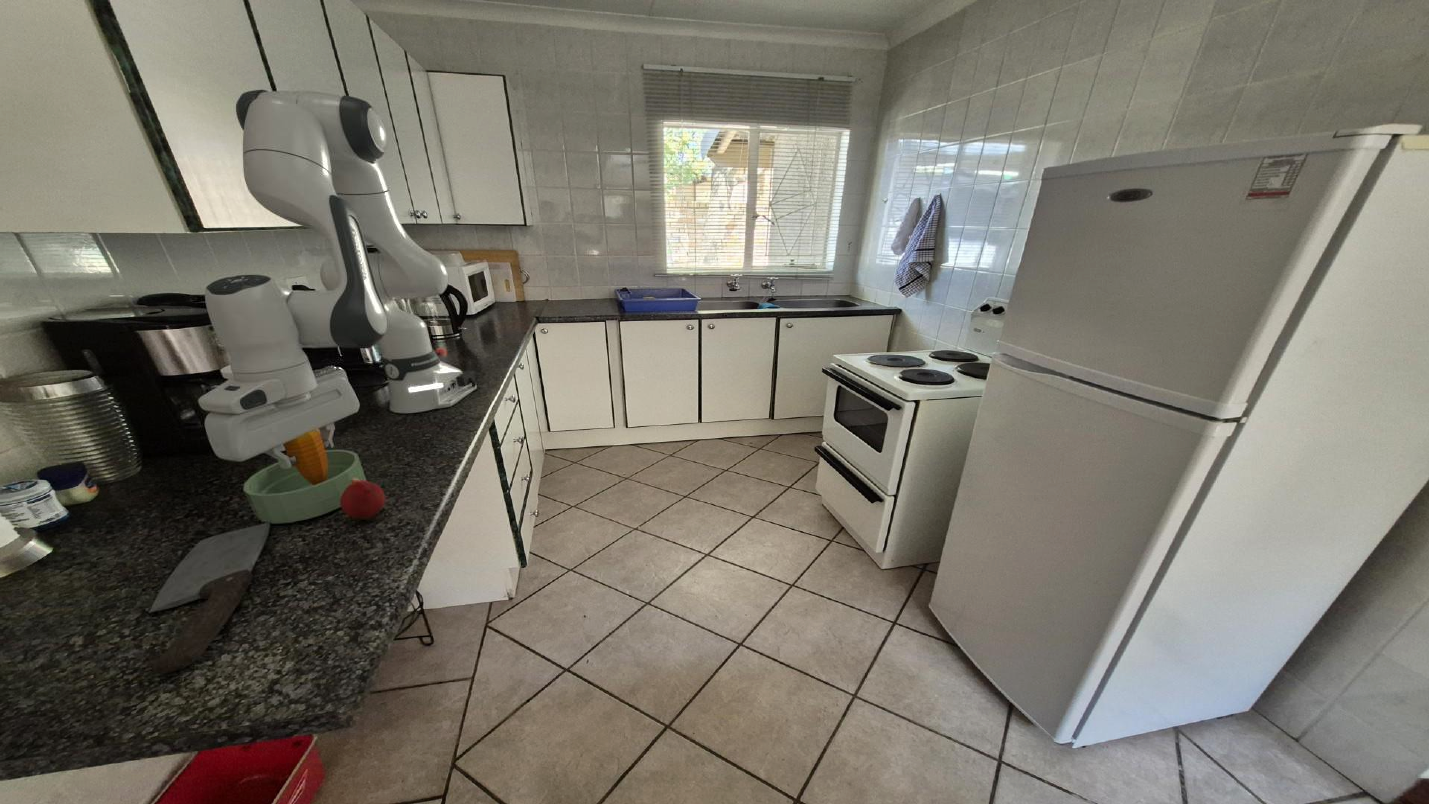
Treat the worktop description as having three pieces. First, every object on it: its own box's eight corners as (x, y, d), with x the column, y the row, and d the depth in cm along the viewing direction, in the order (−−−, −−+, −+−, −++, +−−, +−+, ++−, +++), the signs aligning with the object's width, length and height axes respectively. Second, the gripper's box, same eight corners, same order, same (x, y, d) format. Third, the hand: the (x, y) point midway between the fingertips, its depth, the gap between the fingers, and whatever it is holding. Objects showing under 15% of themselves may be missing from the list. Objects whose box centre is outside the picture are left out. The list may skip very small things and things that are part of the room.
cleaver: (224, 657, 51) (217, 644, 50) (93, 704, 46) (82, 690, 45) (276, 524, 74) (271, 513, 73) (191, 546, 69) (185, 535, 68)
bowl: (323, 472, 88) (313, 446, 86) (388, 481, 86) (379, 454, 83) (233, 519, 75) (218, 489, 72) (306, 532, 72) (293, 501, 70)
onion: (386, 504, 79) (373, 465, 76) (393, 519, 75) (380, 478, 72) (345, 518, 75) (330, 477, 72) (350, 534, 71) (335, 492, 68)
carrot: (318, 497, 76) (286, 417, 70) (295, 493, 77) (261, 415, 71) (345, 481, 81) (317, 405, 75) (323, 478, 82) (293, 403, 76)
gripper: (327, 361, 81) (350, 429, 86) (182, 404, 62) (224, 487, 68) (355, 363, 80) (377, 432, 85) (217, 408, 61) (256, 492, 67)
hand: (308, 457), depth 76 cm, fingers closed on carrot, 5 cm apart
